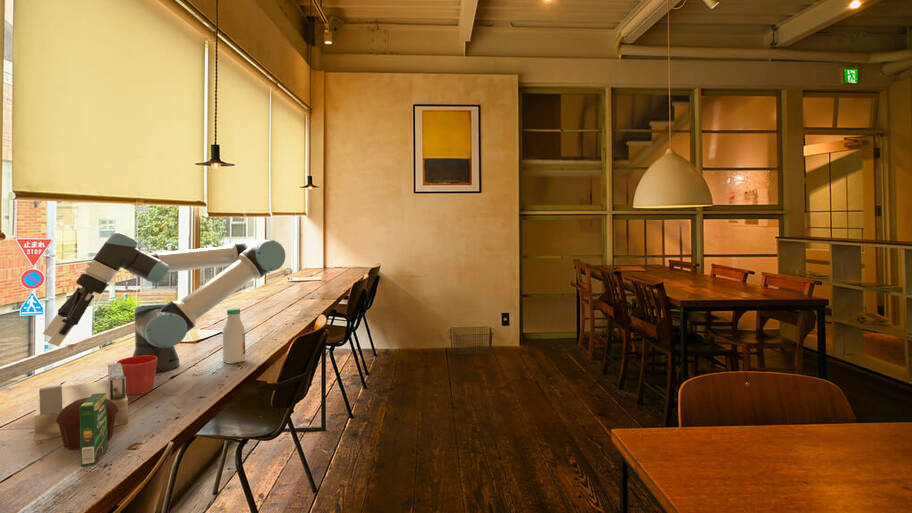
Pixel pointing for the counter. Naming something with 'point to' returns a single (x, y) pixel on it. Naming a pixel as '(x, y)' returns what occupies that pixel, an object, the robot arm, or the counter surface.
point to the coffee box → (93, 429)
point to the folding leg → (116, 381)
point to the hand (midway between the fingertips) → (50, 339)
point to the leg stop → (50, 399)
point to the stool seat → (47, 422)
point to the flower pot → (139, 373)
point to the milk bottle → (233, 337)
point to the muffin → (71, 423)
